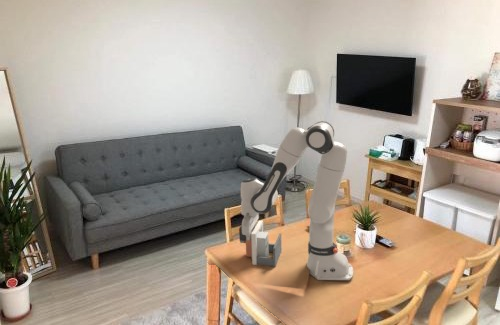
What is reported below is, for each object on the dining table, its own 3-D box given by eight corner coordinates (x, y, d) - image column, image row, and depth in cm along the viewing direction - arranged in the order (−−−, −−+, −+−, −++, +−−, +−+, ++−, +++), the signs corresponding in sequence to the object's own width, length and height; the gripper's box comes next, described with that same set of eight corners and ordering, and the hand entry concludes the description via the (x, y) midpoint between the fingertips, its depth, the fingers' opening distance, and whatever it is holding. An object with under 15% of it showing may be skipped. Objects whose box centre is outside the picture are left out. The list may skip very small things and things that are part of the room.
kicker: (254, 252, 199) (254, 226, 195) (252, 256, 194) (251, 230, 190) (242, 250, 201) (241, 225, 197) (239, 255, 196) (238, 229, 192)
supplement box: (265, 261, 191) (265, 238, 188) (251, 260, 193) (250, 237, 190) (269, 254, 198) (268, 232, 195) (255, 252, 200) (254, 230, 197)
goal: (281, 251, 201) (281, 222, 197) (275, 267, 186) (275, 235, 182) (260, 249, 204) (259, 220, 200) (252, 264, 189) (251, 233, 185)
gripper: (250, 218, 180) (251, 245, 184) (260, 202, 199) (261, 227, 203) (237, 217, 182) (239, 244, 185) (249, 201, 201) (250, 226, 204)
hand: (250, 235), depth 194 cm, fingers open, 8 cm apart
